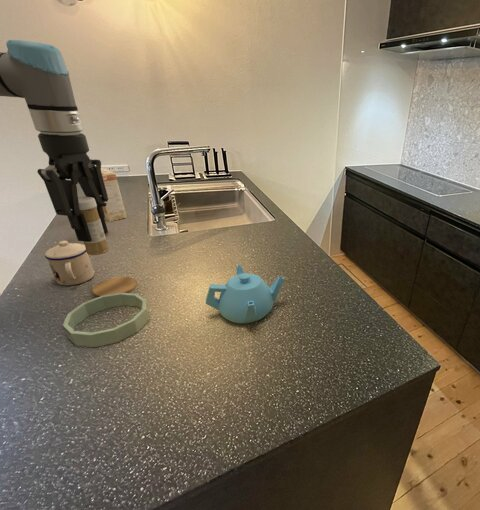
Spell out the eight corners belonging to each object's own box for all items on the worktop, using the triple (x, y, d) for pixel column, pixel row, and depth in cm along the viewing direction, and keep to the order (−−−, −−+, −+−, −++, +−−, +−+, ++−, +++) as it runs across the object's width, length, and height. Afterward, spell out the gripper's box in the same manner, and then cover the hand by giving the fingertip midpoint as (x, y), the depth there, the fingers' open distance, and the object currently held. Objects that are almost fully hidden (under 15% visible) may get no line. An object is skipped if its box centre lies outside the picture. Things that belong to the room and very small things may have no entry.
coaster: (84, 296, 82) (83, 294, 81) (111, 277, 90) (110, 275, 90) (120, 300, 81) (120, 297, 81) (144, 280, 90) (143, 278, 90)
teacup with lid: (56, 274, 90) (42, 238, 84) (95, 267, 95) (84, 233, 89) (53, 295, 81) (37, 256, 76) (96, 286, 86) (83, 249, 81)
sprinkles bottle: (96, 247, 77) (79, 195, 71) (114, 248, 77) (99, 196, 71) (81, 255, 73) (63, 200, 67) (101, 256, 73) (84, 202, 67)
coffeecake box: (93, 213, 133) (79, 167, 124) (111, 209, 138) (99, 165, 129) (108, 222, 126) (95, 174, 117) (127, 218, 131) (116, 172, 122)
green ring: (50, 343, 67) (44, 330, 65) (103, 301, 80) (99, 290, 79) (120, 349, 66) (116, 337, 65) (161, 306, 80) (159, 295, 79)
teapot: (241, 288, 91) (239, 256, 86) (286, 301, 86) (285, 268, 81) (204, 317, 78) (198, 281, 73) (253, 335, 73) (251, 298, 69)
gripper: (39, 138, 55) (78, 254, 65) (110, 130, 70) (133, 225, 81) (-2, 134, 55) (44, 250, 66) (78, 127, 71) (105, 222, 81)
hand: (93, 236), depth 73 cm, fingers closed on sprinkles bottle, 4 cm apart
